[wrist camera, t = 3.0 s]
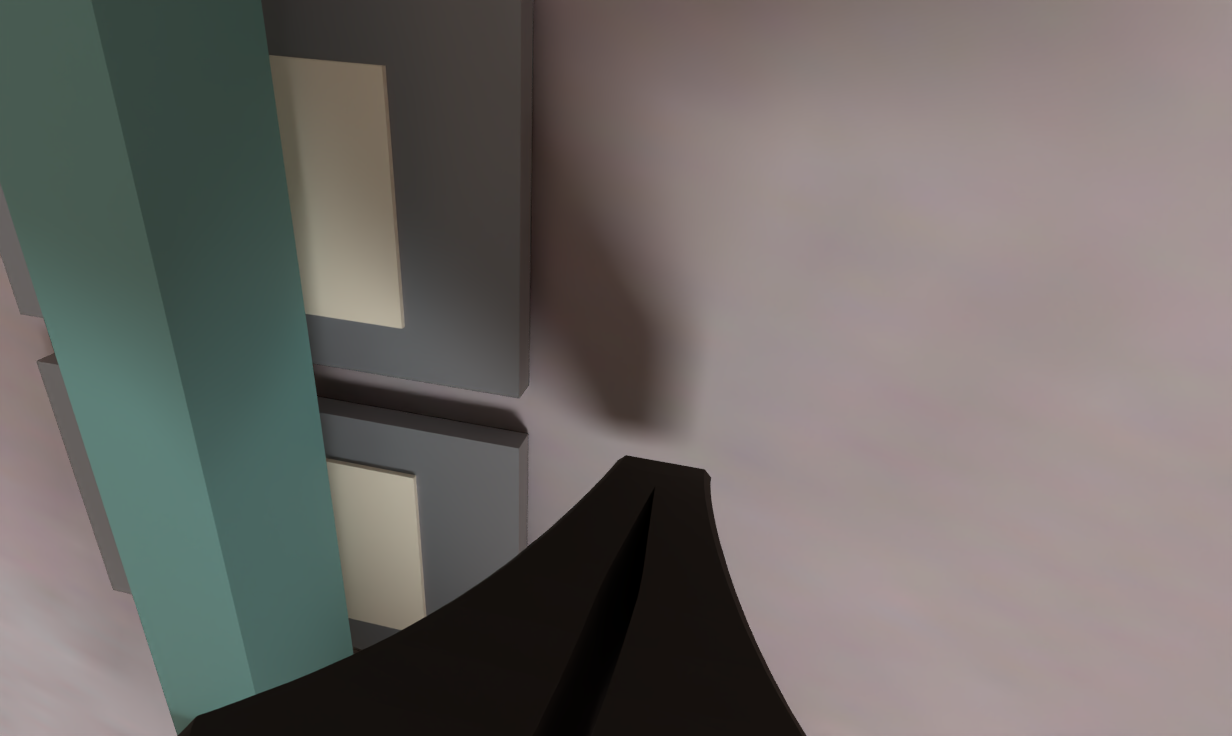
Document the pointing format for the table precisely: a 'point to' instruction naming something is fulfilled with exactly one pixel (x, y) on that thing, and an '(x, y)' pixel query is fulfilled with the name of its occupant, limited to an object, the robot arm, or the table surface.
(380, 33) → the label tile
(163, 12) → the bar
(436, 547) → the label tile
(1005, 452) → the table surface
